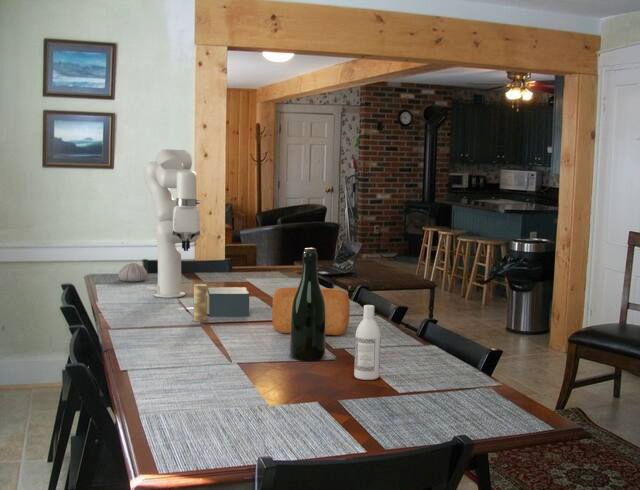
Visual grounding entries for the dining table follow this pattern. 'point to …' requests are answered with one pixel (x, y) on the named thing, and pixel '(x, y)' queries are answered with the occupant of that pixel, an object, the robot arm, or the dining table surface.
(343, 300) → the bread
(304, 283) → the green wine bottle
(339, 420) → the dining table surface
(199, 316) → the cylinder
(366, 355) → the bath foam
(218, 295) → the cabinet
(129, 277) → the sea urchin shell
